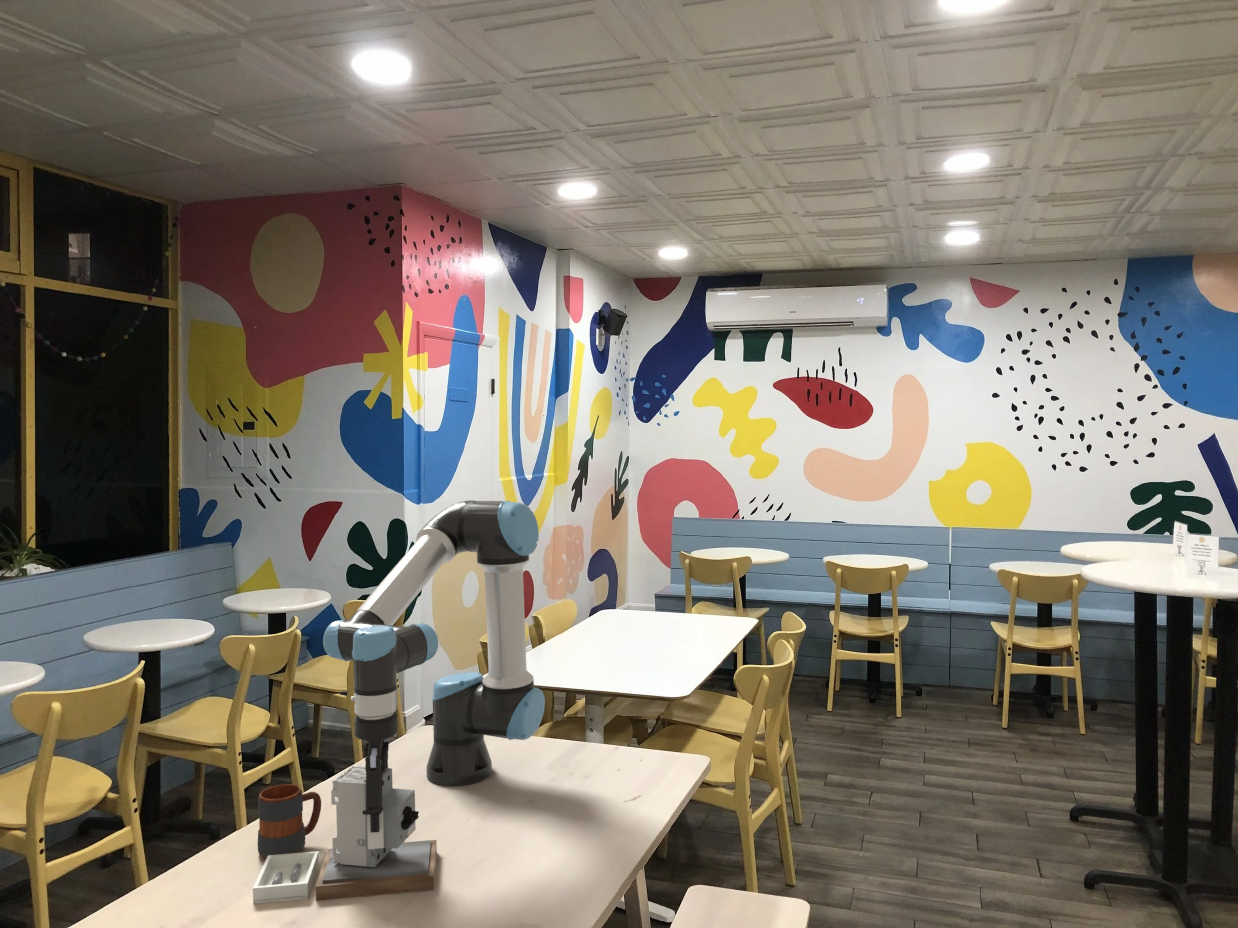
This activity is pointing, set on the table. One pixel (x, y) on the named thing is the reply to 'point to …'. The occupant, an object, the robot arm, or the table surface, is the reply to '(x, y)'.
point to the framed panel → (380, 873)
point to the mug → (284, 819)
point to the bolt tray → (286, 877)
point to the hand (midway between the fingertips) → (378, 834)
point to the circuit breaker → (354, 823)
